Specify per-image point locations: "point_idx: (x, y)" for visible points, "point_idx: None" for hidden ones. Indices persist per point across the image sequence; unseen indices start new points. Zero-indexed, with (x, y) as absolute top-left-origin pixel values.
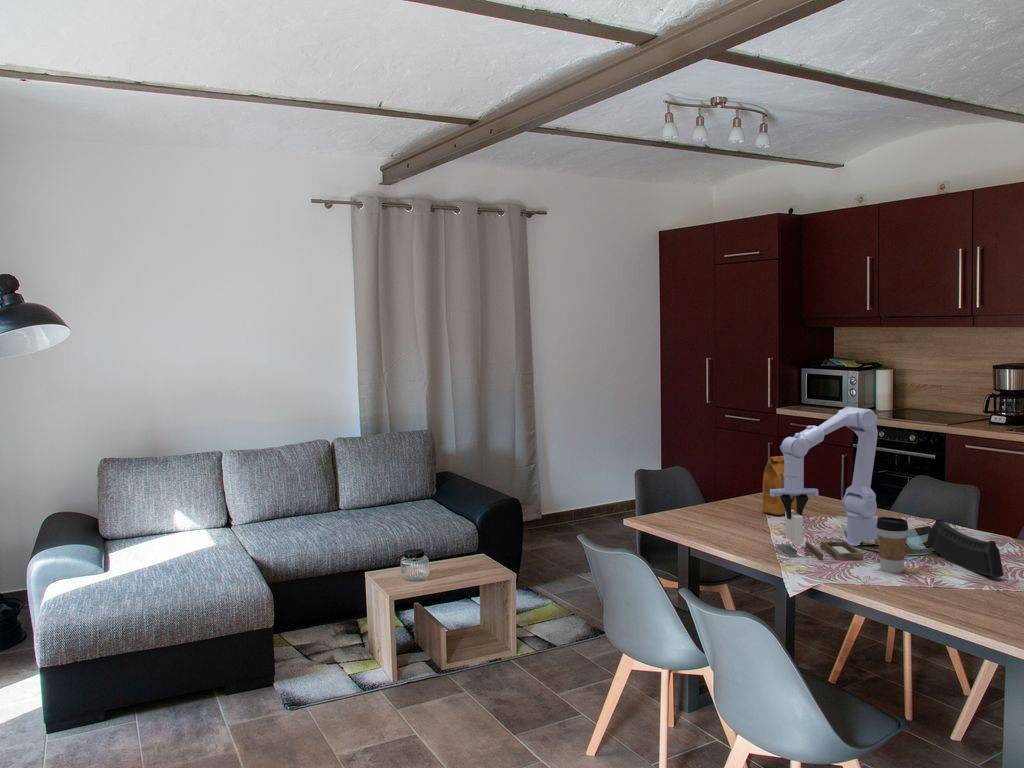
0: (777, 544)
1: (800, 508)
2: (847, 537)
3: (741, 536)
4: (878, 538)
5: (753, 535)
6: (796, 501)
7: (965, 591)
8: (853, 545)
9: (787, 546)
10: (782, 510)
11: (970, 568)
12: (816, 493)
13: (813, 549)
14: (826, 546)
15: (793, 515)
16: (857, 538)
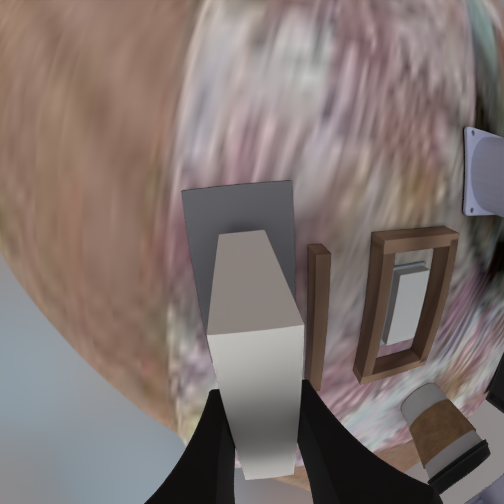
0: (189, 194)
1: (313, 482)
2: (480, 171)
3: (69, 61)
4: (425, 456)
5: (120, 31)
6: (332, 487)
7: None
8: (467, 215)
9: (231, 228)
10: None
11: (501, 365)
12: None
13: (311, 346)
14: (376, 305)
15: (245, 463)
16: (492, 211)
